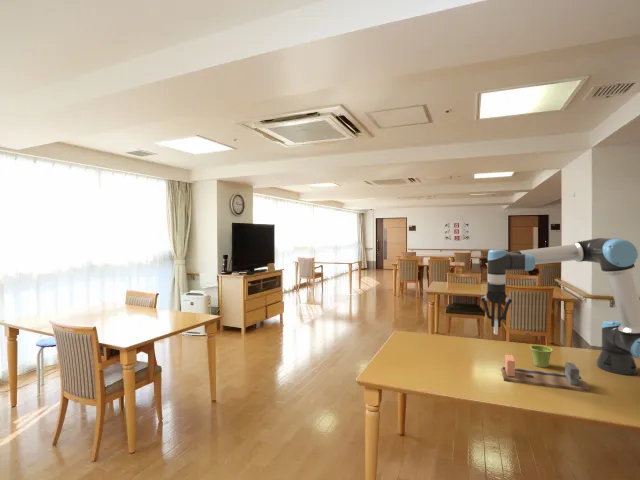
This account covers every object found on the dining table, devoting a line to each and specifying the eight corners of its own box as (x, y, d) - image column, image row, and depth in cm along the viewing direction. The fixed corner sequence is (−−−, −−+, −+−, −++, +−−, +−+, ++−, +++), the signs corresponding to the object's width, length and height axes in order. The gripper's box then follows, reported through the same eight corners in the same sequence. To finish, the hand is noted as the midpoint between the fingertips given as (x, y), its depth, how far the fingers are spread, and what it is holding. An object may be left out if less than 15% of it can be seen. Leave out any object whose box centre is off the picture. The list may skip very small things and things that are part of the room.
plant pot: (555, 369, 173) (556, 352, 173) (534, 368, 175) (534, 350, 175) (547, 362, 182) (547, 345, 182) (527, 361, 184) (527, 344, 184)
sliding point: (512, 370, 169) (512, 355, 169) (514, 376, 162) (515, 361, 161) (505, 369, 170) (505, 354, 170) (507, 375, 163) (507, 360, 162)
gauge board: (581, 380, 161) (581, 362, 161) (590, 392, 150) (590, 372, 150) (501, 370, 173) (501, 353, 172) (504, 380, 161) (504, 362, 161)
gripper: (511, 282, 168) (510, 333, 169) (480, 281, 172) (479, 330, 173) (513, 285, 161) (512, 337, 162) (481, 283, 165) (480, 334, 166)
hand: (495, 333), depth 167 cm, fingers closed
